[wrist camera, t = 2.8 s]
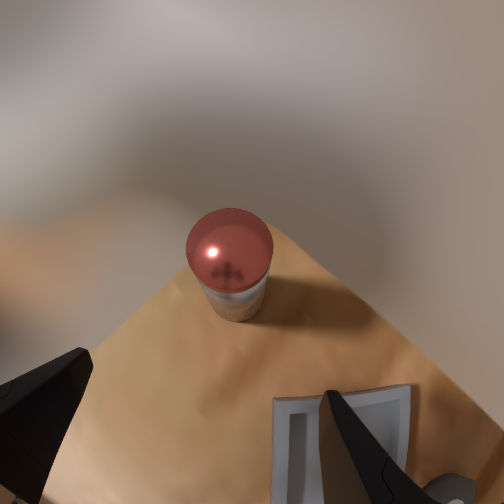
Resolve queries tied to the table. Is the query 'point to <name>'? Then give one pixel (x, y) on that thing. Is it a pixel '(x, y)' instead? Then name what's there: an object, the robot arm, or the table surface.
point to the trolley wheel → (451, 489)
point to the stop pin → (231, 261)
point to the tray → (307, 438)
